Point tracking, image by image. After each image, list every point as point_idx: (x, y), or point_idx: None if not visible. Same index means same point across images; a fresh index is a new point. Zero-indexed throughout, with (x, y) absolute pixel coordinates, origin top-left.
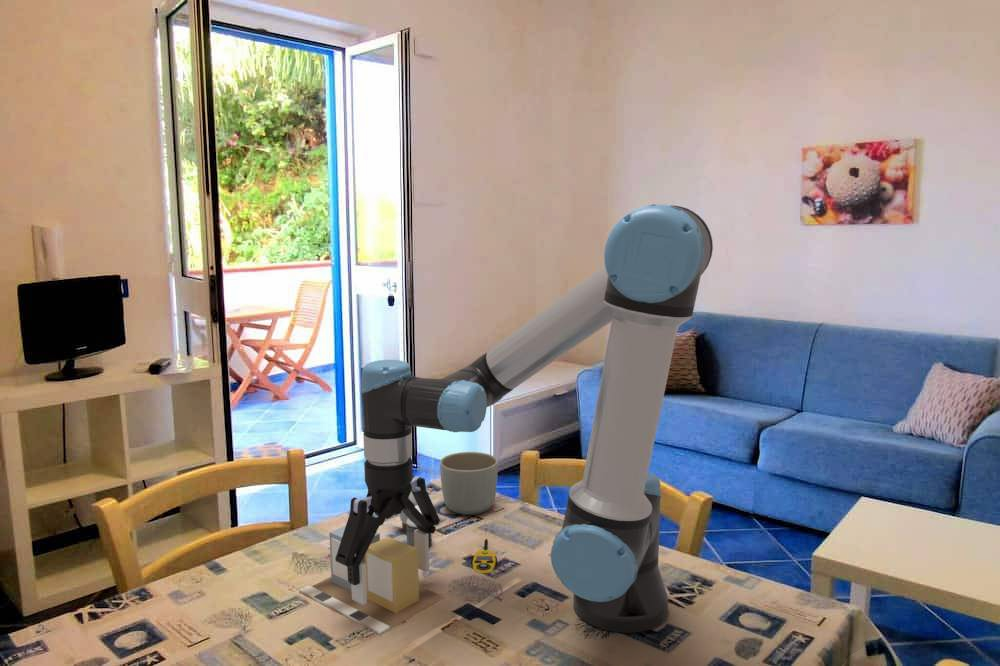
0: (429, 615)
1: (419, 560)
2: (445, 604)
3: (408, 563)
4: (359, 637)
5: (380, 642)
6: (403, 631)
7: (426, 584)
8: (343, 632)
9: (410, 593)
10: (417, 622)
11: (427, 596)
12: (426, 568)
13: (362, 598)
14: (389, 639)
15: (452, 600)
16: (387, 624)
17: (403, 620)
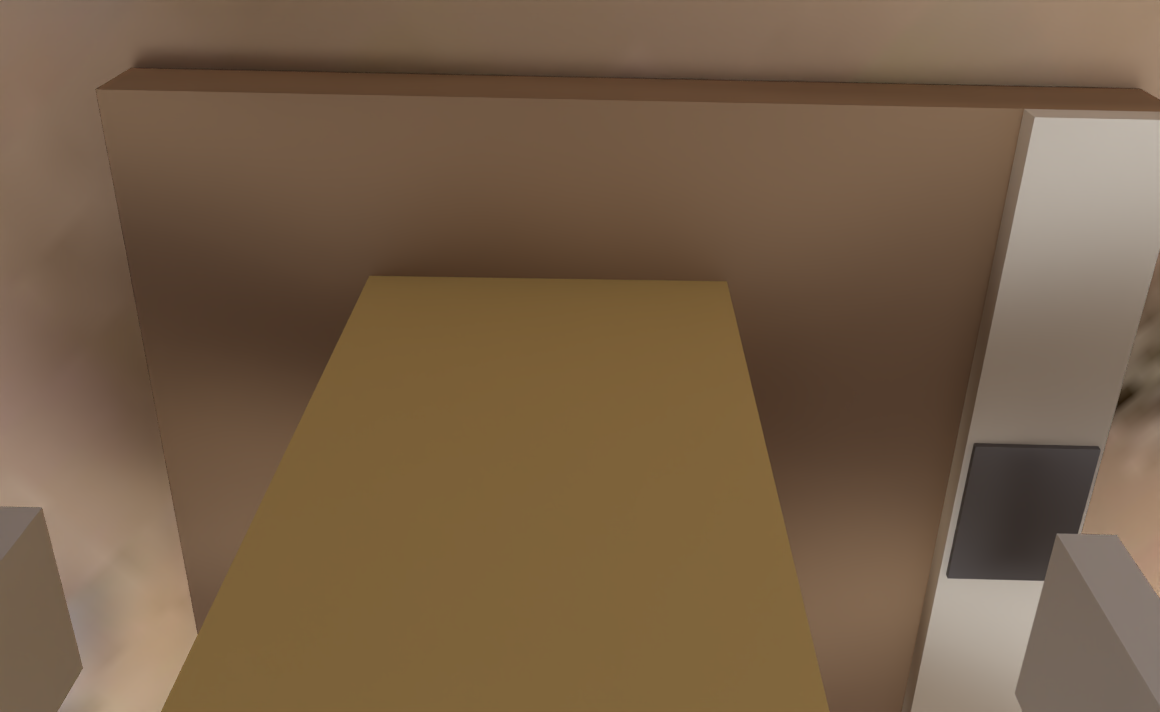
0: (419, 38)
1: (9, 685)
2: (131, 56)
3: (460, 631)
4: (1157, 313)
5: (1140, 84)
6: (841, 39)
7: (42, 477)
8: (1151, 477)
9: (486, 343)
10: (611, 44)
11: (244, 259)
12: (11, 533)
13: (1150, 596)
14: (1047, 48)
15: (12, 51)
16: (964, 196)
17: (798, 112)
